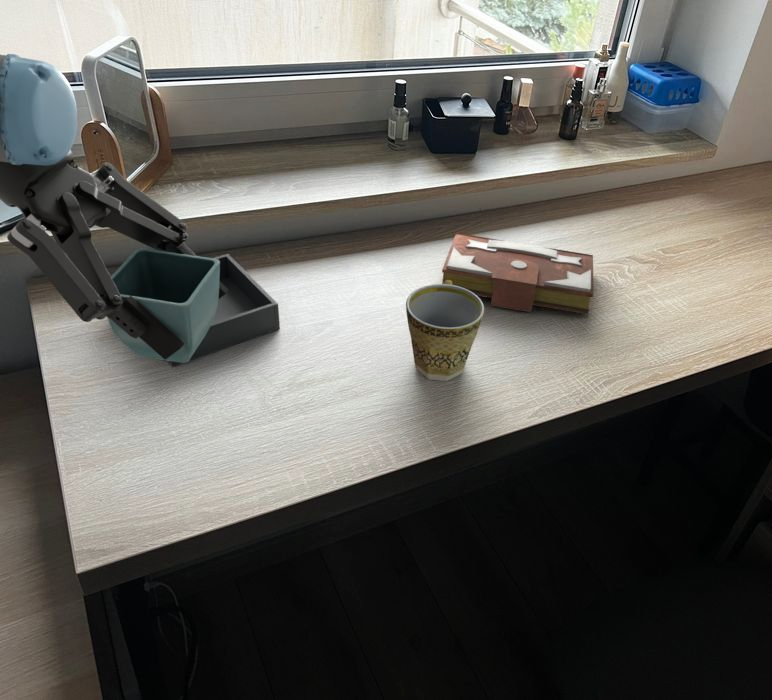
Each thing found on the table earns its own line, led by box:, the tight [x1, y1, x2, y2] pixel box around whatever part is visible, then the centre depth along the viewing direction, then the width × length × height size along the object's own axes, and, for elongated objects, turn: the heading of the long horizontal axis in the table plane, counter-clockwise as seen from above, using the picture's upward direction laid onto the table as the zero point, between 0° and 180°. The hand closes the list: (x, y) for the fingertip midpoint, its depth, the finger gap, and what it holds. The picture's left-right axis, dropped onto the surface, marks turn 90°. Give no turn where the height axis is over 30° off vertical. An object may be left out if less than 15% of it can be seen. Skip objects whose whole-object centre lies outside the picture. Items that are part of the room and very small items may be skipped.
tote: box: [168, 253, 281, 368], centre depth 100 cm, size 15×15×4 cm
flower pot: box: [106, 247, 220, 364], centre depth 73 cm, size 9×9×9 cm
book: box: [441, 232, 594, 315], centre depth 114 cm, size 23×16×5 cm
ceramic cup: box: [405, 280, 485, 382], centre depth 96 cm, size 13×10×10 cm
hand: (198, 323), depth 74 cm, fingers closed on flower pot, 9 cm apart
